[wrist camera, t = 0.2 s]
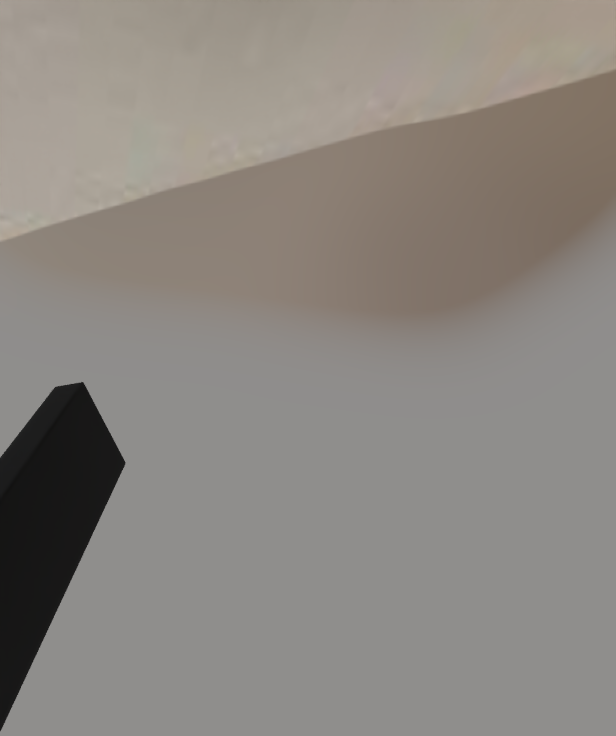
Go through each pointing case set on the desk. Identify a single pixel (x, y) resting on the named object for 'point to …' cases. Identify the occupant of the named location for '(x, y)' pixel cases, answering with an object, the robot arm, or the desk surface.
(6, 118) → the desk surface
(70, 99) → the desk surface
